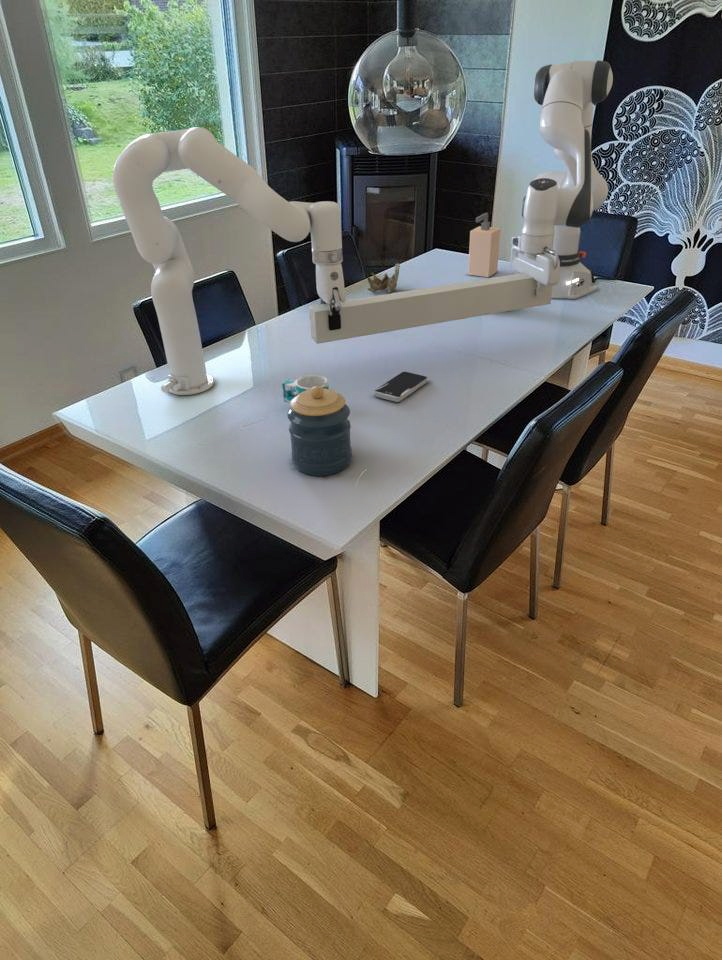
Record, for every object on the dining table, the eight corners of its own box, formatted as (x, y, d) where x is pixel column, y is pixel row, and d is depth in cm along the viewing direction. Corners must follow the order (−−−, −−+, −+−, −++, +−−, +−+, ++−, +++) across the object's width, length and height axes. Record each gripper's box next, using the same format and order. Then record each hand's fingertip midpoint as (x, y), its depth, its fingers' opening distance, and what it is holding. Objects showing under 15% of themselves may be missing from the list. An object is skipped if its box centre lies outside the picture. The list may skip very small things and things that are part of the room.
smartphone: (428, 377, 177) (398, 398, 167) (428, 381, 178) (398, 403, 168) (403, 371, 181) (372, 391, 171) (403, 375, 182) (373, 396, 171)
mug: (318, 422, 160) (315, 391, 156) (277, 412, 166) (274, 381, 161) (336, 409, 166) (334, 377, 162) (297, 399, 171) (294, 368, 167)
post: (316, 344, 175) (314, 311, 170) (311, 337, 179) (308, 306, 174) (550, 303, 194) (554, 274, 190) (540, 298, 198) (544, 269, 194)
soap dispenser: (476, 269, 264) (480, 210, 252) (497, 271, 260) (501, 211, 248) (463, 277, 255) (466, 216, 243) (484, 280, 251) (488, 218, 239)
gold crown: (411, 271, 247) (402, 252, 239) (394, 304, 243) (385, 285, 235) (390, 269, 252) (380, 250, 243) (373, 301, 248) (363, 283, 239)
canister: (282, 471, 142) (273, 395, 133) (307, 442, 152) (301, 370, 143) (338, 481, 138) (333, 404, 129) (360, 451, 148) (358, 377, 139)
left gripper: (353, 261, 161) (355, 334, 171) (331, 246, 175) (334, 313, 184) (323, 265, 159) (327, 338, 169) (303, 249, 173) (308, 317, 182)
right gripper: (568, 250, 178) (562, 301, 186) (527, 234, 195) (522, 281, 202) (548, 253, 177) (542, 305, 184) (508, 236, 193) (504, 284, 200)
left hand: (331, 325), depth 177 cm, fingers closed on post, 5 cm apart
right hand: (531, 292), depth 193 cm, fingers closed on post, 5 cm apart
